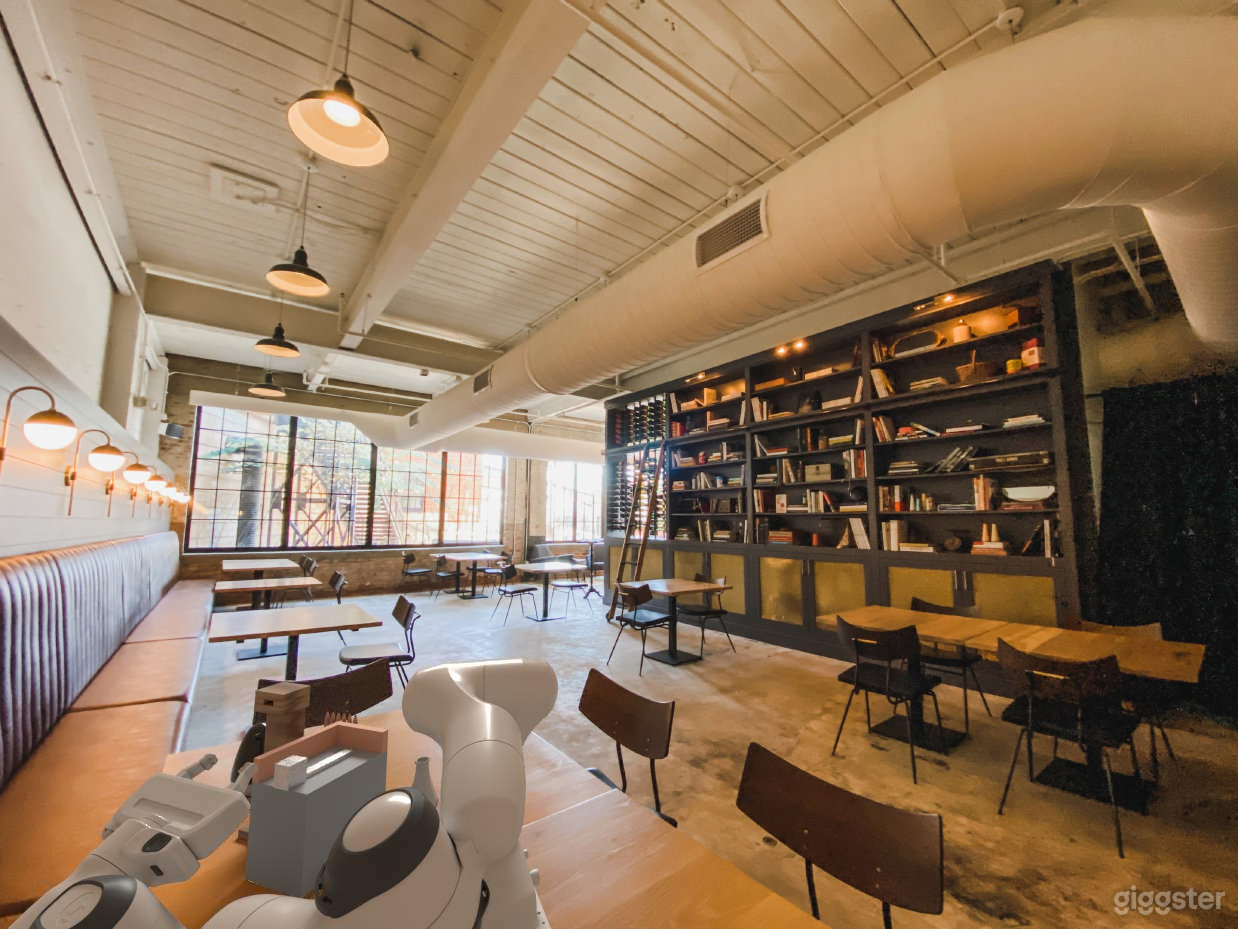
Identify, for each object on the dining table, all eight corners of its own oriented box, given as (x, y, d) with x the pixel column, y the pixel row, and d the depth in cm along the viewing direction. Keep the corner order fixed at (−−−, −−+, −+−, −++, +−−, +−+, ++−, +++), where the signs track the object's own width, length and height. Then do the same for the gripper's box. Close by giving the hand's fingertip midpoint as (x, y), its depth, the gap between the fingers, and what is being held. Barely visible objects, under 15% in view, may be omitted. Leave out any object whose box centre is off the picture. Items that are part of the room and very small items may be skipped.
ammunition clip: (319, 759, 135) (321, 712, 136) (324, 756, 137) (327, 710, 138) (353, 763, 133) (356, 715, 134) (358, 760, 135) (361, 713, 136)
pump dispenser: (222, 806, 113) (228, 735, 115) (235, 784, 122) (240, 718, 124) (277, 796, 117) (281, 727, 119) (285, 776, 126) (289, 712, 128)
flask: (426, 817, 108) (428, 768, 109) (396, 814, 110) (398, 765, 111) (444, 799, 115) (445, 753, 117) (415, 796, 117) (417, 750, 118)
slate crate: (301, 899, 85) (307, 794, 87) (245, 880, 89) (252, 781, 91) (383, 836, 102) (387, 750, 104) (333, 823, 106) (337, 740, 108)
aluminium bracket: (287, 791, 88) (289, 766, 88) (273, 787, 89) (275, 763, 90) (356, 754, 102) (357, 734, 102) (343, 752, 103) (344, 731, 103)
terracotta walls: (307, 794, 87) (308, 769, 87) (252, 781, 91) (254, 758, 92) (387, 750, 104) (388, 729, 104) (337, 740, 108) (338, 721, 109)
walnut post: (280, 850, 98) (290, 695, 101) (237, 837, 102) (248, 689, 105) (317, 827, 105) (325, 683, 108) (276, 816, 109) (285, 678, 112)
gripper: (106, 850, 75) (200, 764, 87) (198, 882, 68) (286, 784, 80) (81, 822, 72) (181, 738, 84) (174, 853, 66) (269, 756, 78)
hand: (233, 760), depth 82 cm, fingers open, 8 cm apart
